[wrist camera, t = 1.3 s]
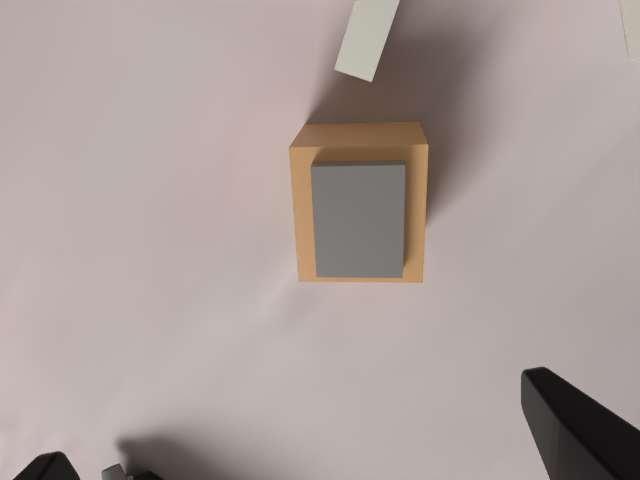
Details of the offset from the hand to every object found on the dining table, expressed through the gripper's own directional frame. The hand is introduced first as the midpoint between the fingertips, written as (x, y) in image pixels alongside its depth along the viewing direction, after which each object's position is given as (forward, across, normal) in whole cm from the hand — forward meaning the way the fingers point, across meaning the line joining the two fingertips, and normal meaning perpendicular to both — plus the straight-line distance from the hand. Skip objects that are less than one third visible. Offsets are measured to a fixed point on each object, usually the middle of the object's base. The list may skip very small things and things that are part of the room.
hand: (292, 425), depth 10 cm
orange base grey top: (+12, -3, 0) cm, 13 cm away
